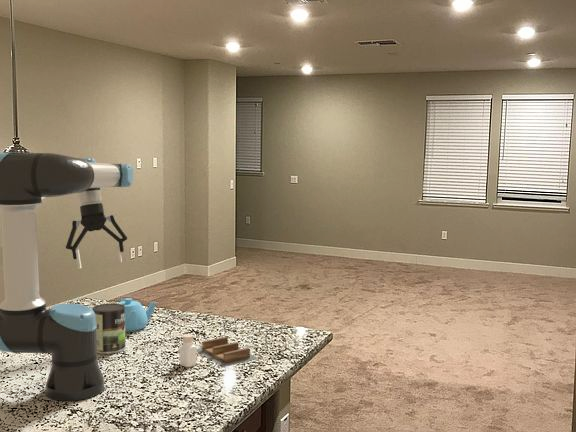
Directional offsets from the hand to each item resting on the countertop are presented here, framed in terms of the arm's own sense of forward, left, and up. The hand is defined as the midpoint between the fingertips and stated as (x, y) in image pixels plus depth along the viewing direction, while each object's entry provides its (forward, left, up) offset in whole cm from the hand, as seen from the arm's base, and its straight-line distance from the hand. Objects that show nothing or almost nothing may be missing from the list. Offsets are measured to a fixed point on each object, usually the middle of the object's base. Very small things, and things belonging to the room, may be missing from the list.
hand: (100, 265), depth 214 cm
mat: (-19, -43, -25) cm, 54 cm away
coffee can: (-12, -5, -26) cm, 29 cm away
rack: (-19, -43, -25) cm, 54 cm away
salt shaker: (-28, -32, -26) cm, 50 cm away
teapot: (+12, -7, -26) cm, 29 cm away
